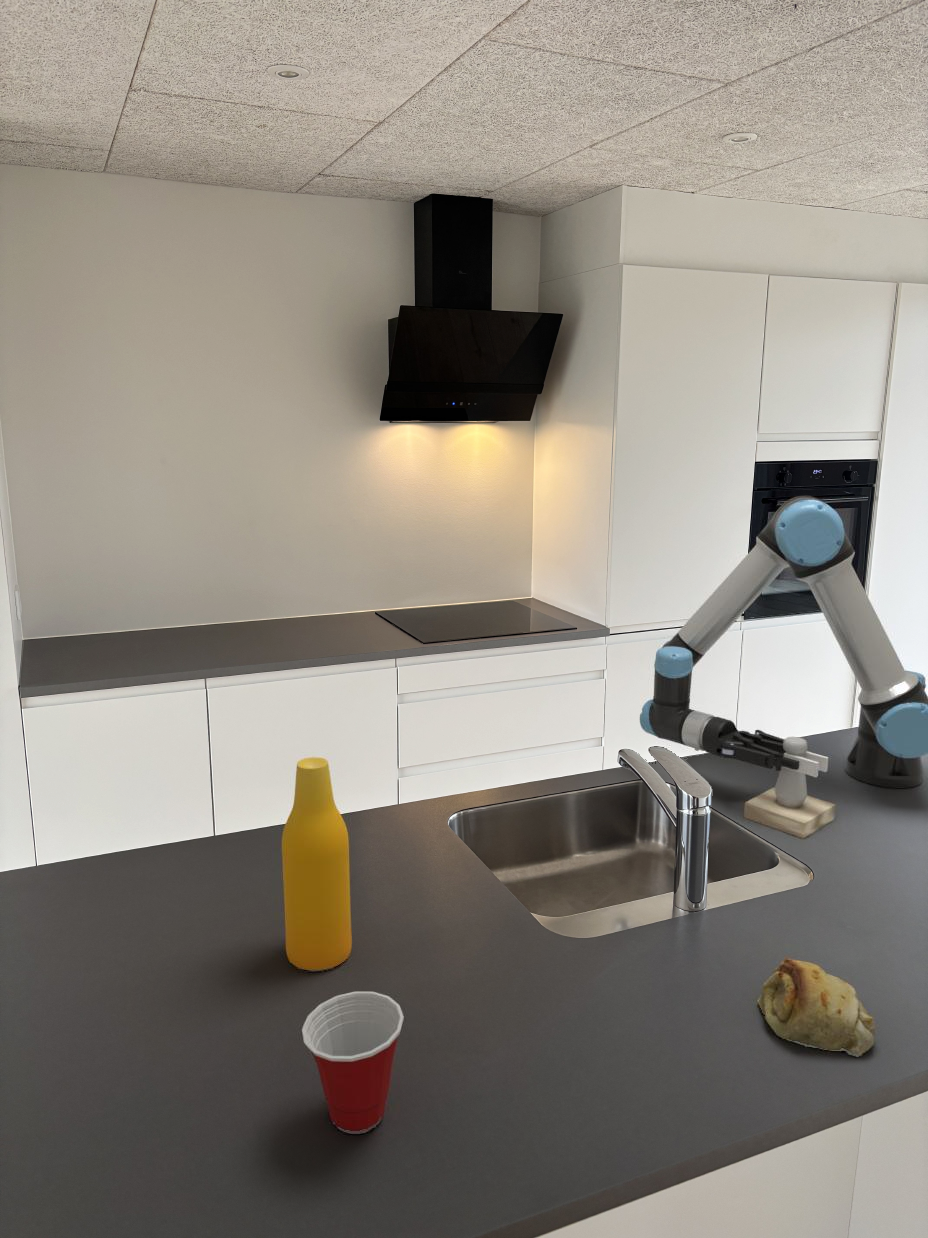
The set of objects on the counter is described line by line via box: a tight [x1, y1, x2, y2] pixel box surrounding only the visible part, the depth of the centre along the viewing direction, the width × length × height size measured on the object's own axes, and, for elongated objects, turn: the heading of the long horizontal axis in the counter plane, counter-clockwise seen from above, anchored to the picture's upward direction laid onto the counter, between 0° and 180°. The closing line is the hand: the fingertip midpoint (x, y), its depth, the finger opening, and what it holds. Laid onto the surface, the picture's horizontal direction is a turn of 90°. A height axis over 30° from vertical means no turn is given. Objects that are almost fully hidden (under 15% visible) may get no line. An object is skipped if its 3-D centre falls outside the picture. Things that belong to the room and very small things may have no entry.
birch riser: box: [743, 785, 836, 840], centre depth 171 cm, size 12×12×3 cm
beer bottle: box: [281, 756, 353, 970], centre depth 125 cm, size 9×9×29 cm
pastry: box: [757, 958, 877, 1055], centre depth 113 cm, size 14×12×8 cm
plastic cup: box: [301, 991, 404, 1131], centre depth 97 cm, size 11×11×12 cm
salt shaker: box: [774, 736, 808, 808], centre depth 170 cm, size 6×6×13 cm
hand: (822, 767), depth 165 cm, fingers closed on salt shaker, 3 cm apart
